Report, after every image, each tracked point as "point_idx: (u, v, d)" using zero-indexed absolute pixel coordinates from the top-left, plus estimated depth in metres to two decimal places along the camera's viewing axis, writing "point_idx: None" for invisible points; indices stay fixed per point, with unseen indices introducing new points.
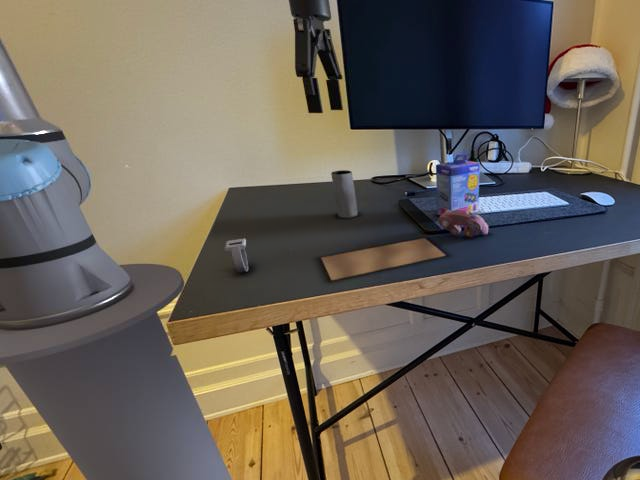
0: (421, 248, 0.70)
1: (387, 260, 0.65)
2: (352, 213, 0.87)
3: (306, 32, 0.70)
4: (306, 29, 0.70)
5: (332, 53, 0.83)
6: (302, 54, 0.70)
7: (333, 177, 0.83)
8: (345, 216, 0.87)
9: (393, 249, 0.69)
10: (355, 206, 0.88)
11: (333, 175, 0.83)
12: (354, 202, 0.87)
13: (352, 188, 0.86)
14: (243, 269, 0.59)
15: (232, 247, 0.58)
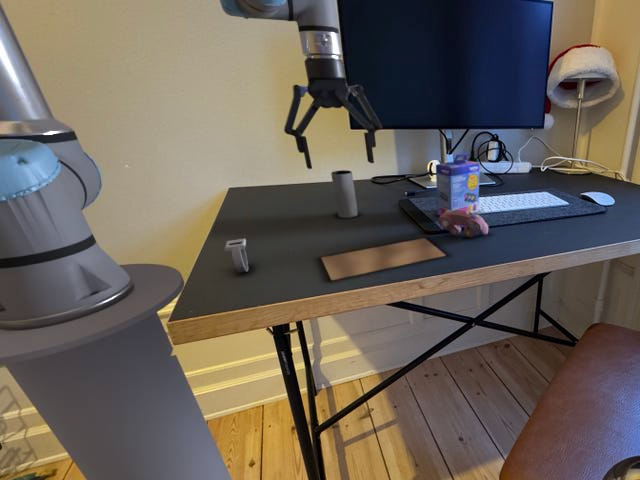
0: (421, 248, 0.70)
1: (387, 260, 0.65)
2: (352, 213, 0.87)
3: (294, 97, 0.74)
4: (294, 94, 0.74)
5: (365, 108, 0.81)
6: (288, 117, 0.75)
7: (333, 177, 0.83)
8: (345, 216, 0.87)
9: (393, 249, 0.69)
10: (355, 206, 0.88)
11: (333, 175, 0.83)
12: (354, 202, 0.87)
13: (352, 188, 0.86)
14: (243, 269, 0.59)
15: (232, 247, 0.58)
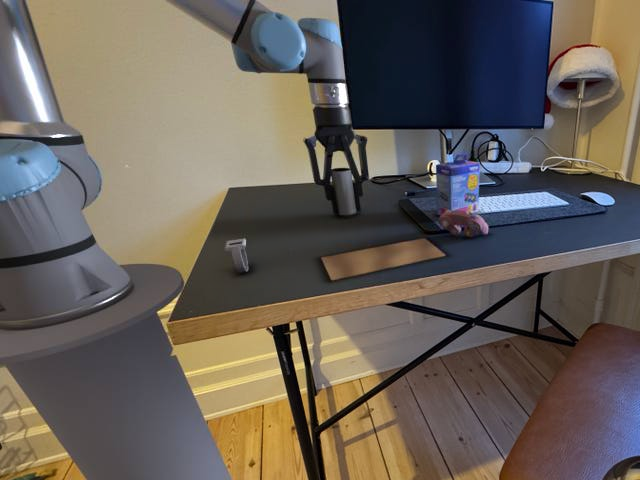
0: (421, 248, 0.70)
1: (387, 260, 0.65)
2: (351, 211, 0.87)
3: (309, 151, 0.79)
4: (308, 148, 0.78)
5: (361, 157, 0.85)
6: (312, 170, 0.81)
7: (332, 174, 0.83)
8: (344, 213, 0.87)
9: (393, 249, 0.69)
10: (354, 204, 0.87)
11: (332, 172, 0.83)
12: (353, 199, 0.87)
13: (351, 185, 0.85)
14: (243, 269, 0.59)
15: (232, 247, 0.58)
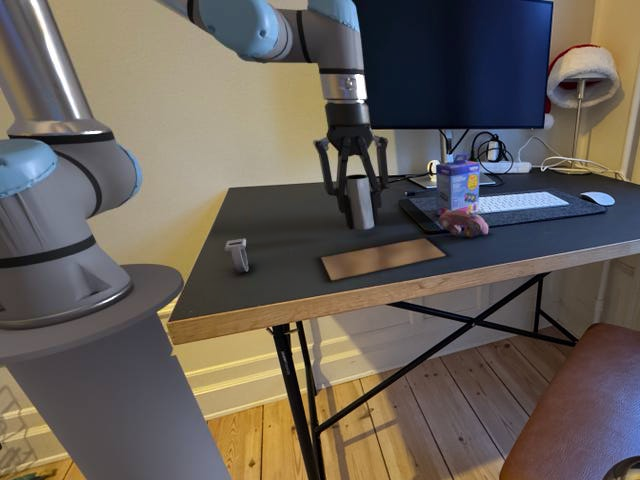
0: (421, 248, 0.70)
1: (387, 260, 0.65)
2: (368, 224, 0.74)
3: (320, 155, 0.66)
4: (319, 152, 0.66)
5: (380, 161, 0.72)
6: (324, 178, 0.69)
7: (347, 182, 0.70)
8: (360, 228, 0.74)
9: (393, 249, 0.69)
10: (372, 216, 0.75)
11: (347, 180, 0.70)
12: (371, 211, 0.74)
13: (369, 195, 0.73)
14: (243, 269, 0.59)
15: (232, 247, 0.58)
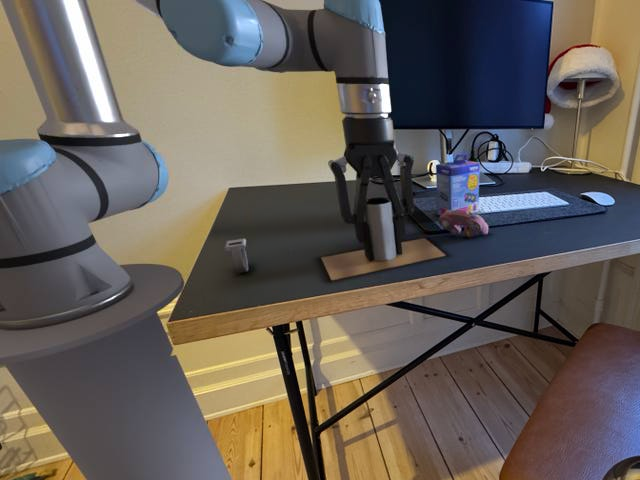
0: (421, 248, 0.70)
1: (387, 260, 0.65)
2: (390, 255, 0.65)
3: (336, 178, 0.56)
4: (335, 175, 0.56)
5: (405, 183, 0.62)
6: (340, 203, 0.59)
7: (367, 208, 0.61)
8: (381, 259, 0.64)
9: None
10: (394, 245, 0.65)
11: (367, 205, 0.60)
12: (393, 240, 0.65)
13: (391, 222, 0.63)
14: (243, 269, 0.59)
15: (232, 247, 0.58)
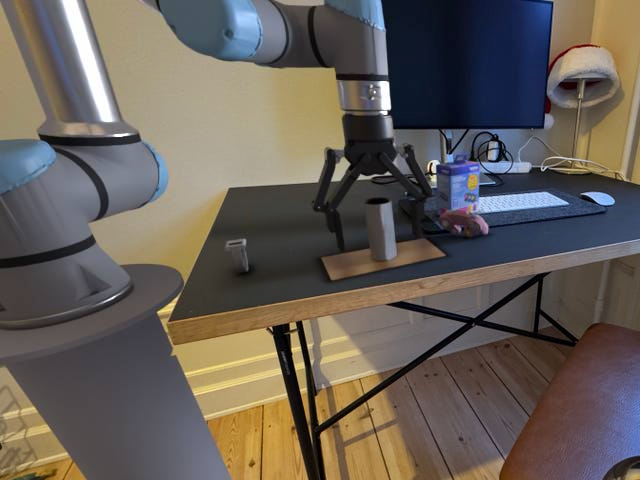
0: (421, 248, 0.70)
1: (387, 260, 0.65)
2: (390, 255, 0.65)
3: (326, 165, 0.55)
4: (327, 161, 0.55)
5: (415, 172, 0.63)
6: (317, 190, 0.57)
7: (367, 208, 0.61)
8: (381, 259, 0.64)
9: None
10: (394, 245, 0.65)
11: (367, 205, 0.60)
12: (393, 240, 0.65)
13: (391, 222, 0.63)
14: (243, 269, 0.59)
15: (232, 247, 0.58)
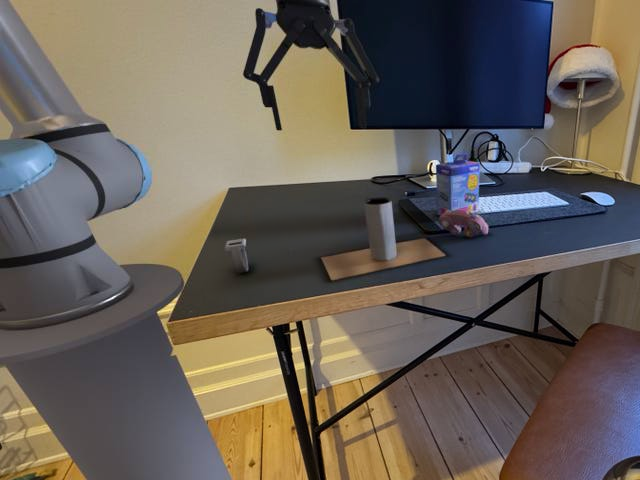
0: (421, 248, 0.70)
1: (387, 260, 0.65)
2: (390, 255, 0.65)
3: (256, 26, 0.53)
4: (256, 22, 0.53)
5: (356, 51, 0.60)
6: (248, 56, 0.55)
7: (367, 208, 0.61)
8: (381, 259, 0.64)
9: None
10: (394, 245, 0.65)
11: (367, 205, 0.60)
12: (393, 240, 0.65)
13: (391, 222, 0.63)
14: (243, 269, 0.59)
15: (232, 247, 0.58)
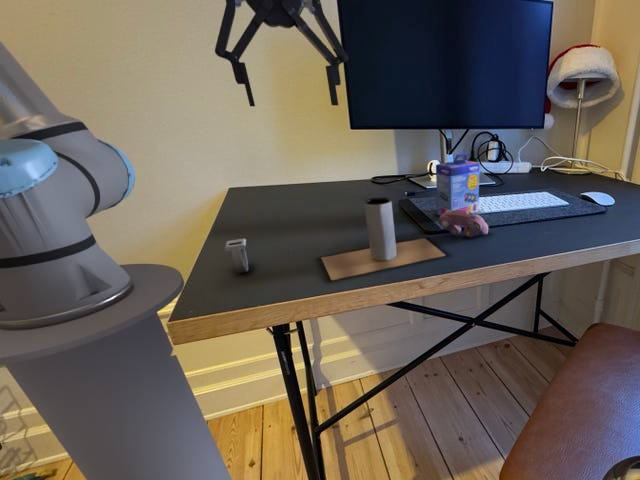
0: (421, 248, 0.70)
1: (387, 260, 0.65)
2: (390, 255, 0.65)
3: None
4: (226, 1, 0.56)
5: (325, 30, 0.63)
6: None
7: (367, 208, 0.61)
8: (381, 259, 0.64)
9: None
10: (394, 245, 0.65)
11: (367, 205, 0.60)
12: (393, 240, 0.65)
13: (391, 222, 0.63)
14: (243, 269, 0.59)
15: (232, 247, 0.58)
